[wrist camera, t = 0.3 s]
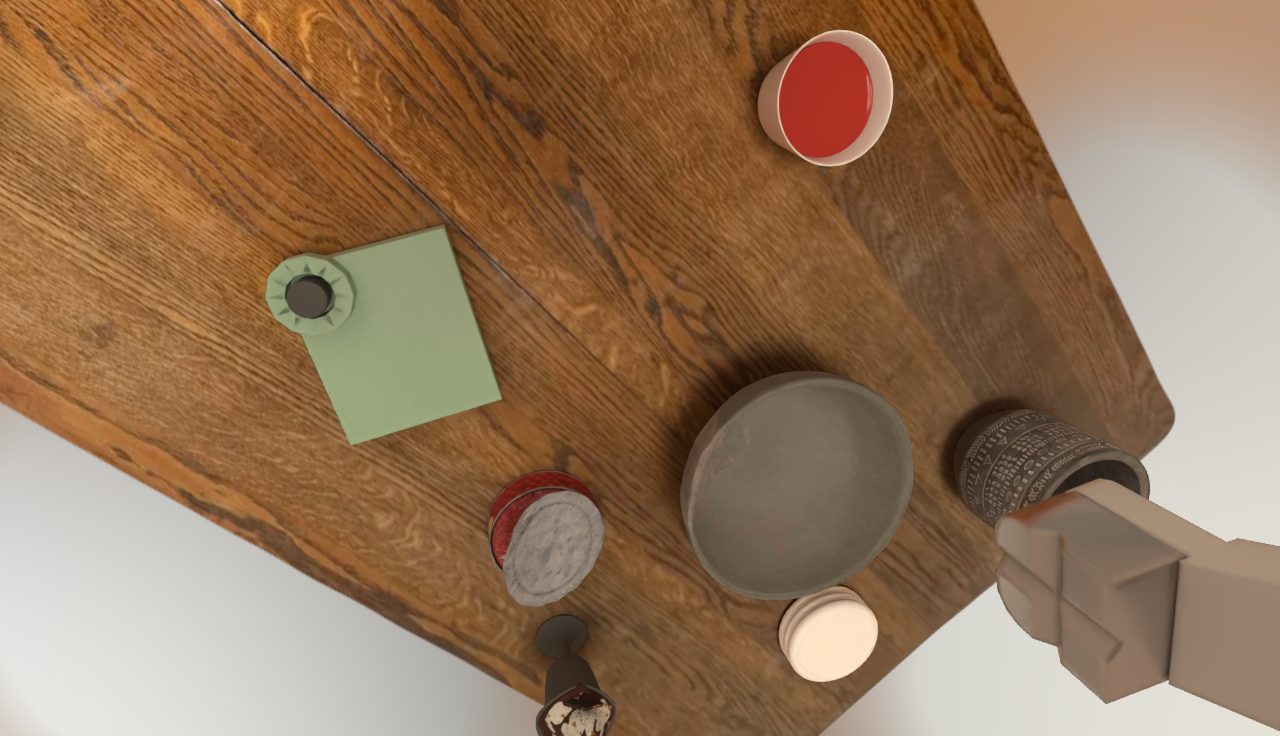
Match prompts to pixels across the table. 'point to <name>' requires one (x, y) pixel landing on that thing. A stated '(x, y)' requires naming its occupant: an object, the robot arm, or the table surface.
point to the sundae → (571, 684)
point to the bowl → (796, 484)
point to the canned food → (544, 535)
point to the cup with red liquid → (828, 98)
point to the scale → (391, 333)
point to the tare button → (308, 297)
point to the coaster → (828, 634)
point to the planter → (1034, 462)
